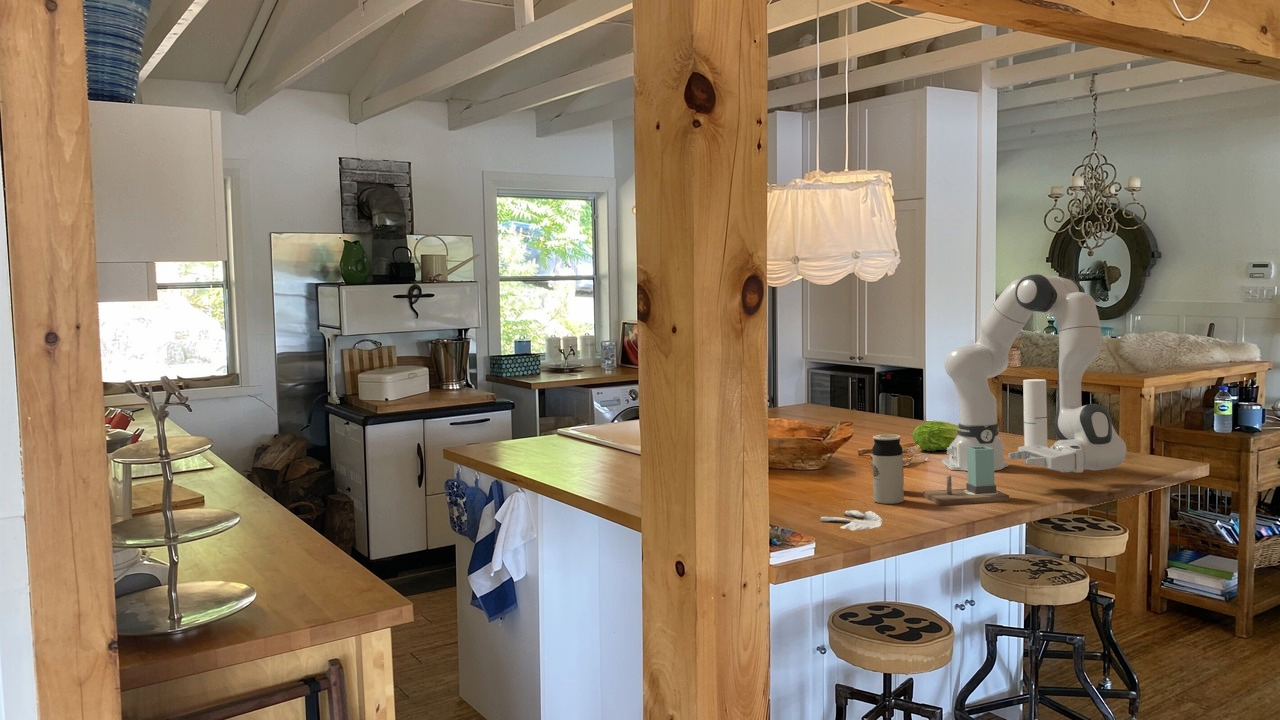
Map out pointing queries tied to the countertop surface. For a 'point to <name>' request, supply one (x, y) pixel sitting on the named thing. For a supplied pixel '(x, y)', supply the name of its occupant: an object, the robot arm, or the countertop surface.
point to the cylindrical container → (1035, 412)
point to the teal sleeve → (980, 470)
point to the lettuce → (935, 435)
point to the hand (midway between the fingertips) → (1017, 458)
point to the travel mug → (887, 469)
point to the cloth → (869, 520)
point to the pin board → (962, 496)
